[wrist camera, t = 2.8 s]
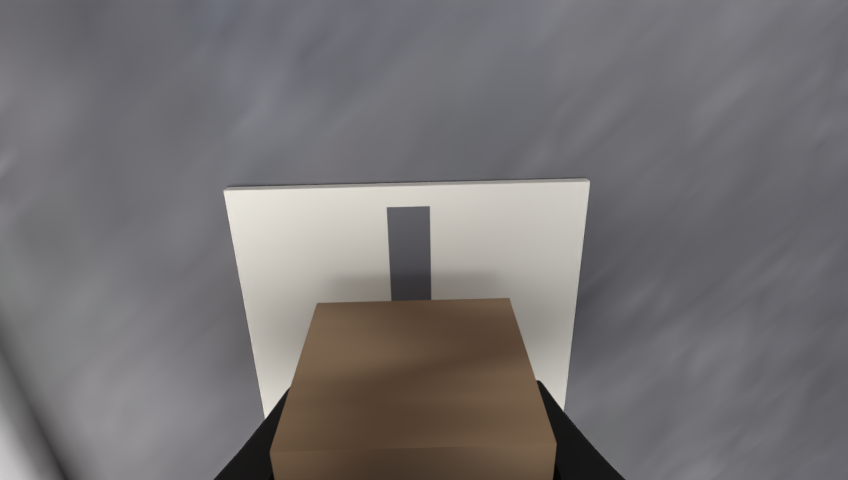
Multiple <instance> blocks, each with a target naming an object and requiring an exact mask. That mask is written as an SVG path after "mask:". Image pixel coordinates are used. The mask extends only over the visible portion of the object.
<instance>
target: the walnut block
mask: <svg viewBox="0 0 848 480" xmlns="http://www.w3.org/2000/svg"><path fill="white" fill-rule="evenodd" d="M556 446H557V443H556V440H555V437H554V434H553V431H552V428H551V425H550V422H549V419H548V416H547V412H546V409H545V406H544V403H543V400H542V397H541V394H540V391H539V388H538V385H537V382H536V379H535V375H534V372H533V369H532V366H531V363H530V360H529V357H528V354H527V351H526V348H525V345H524V342H523V338H522V335H521V332H520V329H519V326H518V323H517V320H516V317H515V314H514V311H513V308H512V305H511V302H510V298H489V299H449V300H410V301H370V302H331V303H317V305H316V308H315V311H314V314H313V317H312V320H311V323H310V326H309V330H308V333H307V336H306V339H305V342H304V345H303V348H302V352H301V355H300V358H299V361H298V364H297V367H296V370H295V374H294V377H293V380H292V383H291V386H290V389H289V392H288V396H287V399H286V402H285V405H284V408H283V411H282V414H281V418H280V421H279V424H278V427H277V430H276V433H275V436H274V440H273V443H272V446H271V449H270V457H271V463H272V468H273V474H274V479H275V480H553V473H554V464H555V455H556Z"/></svg>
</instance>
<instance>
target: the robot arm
mask: <svg viewBox="0 0 848 480" xmlns="http://www.w3.org/2000/svg"><path fill="white" fill-rule="evenodd" d="M536 382H537V385H538V388H539V391H540V394H541V397H542V400H543V403H544V406H545V409H546V412H547V416H548V419H549V422H550V425H551V428H552V431H553V434H554V437H555V440H556V443H557V446H556V455H555V464H554V473H553V480H625V479H624V478H623V477H622V476H621V475H620V474H619V473H618V472H617V471H616V470H615V469H614V468H613V467H612V466H611V465H610V464H609V463H608V462H607V461H606V460H605V459H604V458H603V457H602V456H601V455H600V453H599V452H598V451H597V450H596V449H595V448H594V447H593V446H592V445H591V443H590V442H589V441H588V440H587V439H586V438H585V437H584V435H583V434H582V433H581V432H580V431H579V430H578V428H577V427H576V426H575V425H574V424H573V422H572V421H571V420H570V419H569V417H568V416H567V415H566V414H565V412H564V411H563V410H562V409H561V407H560V406H559V405H558V403H557V402H556V401H555V399H554V398H553V397H552V395H551V394H550V393H549V391H548V390H547V388H546V387H545V386H544V384H543V383H542V382H541V381H540V380H536ZM289 389H290V387H289V388H288V389H287V390H286V392H285V393H284V394H283V396H282V397H281V399H280V400H279V401H278V403H277V404H276V405H275V407H274V408H273V409H272V411H271V412H270V413H269V415H268V416H267V417H266V419H265V420H264V421H263V423H262V424H261V425H260V426H259V428H258V429H257V430H256V431H255V433H254V434H253V435H252V436H251V438H250V439H249V440H248V441H247V442H246V444H245V445H244V446H243V447H242V449H241V450H240V451H239V452H238V453H237V454H236V455H235V457H234V458H233V459H232V460H231V461H230V462H229V463H228V464H227V465H226V467H225V468H224V469H223V470H222V471H221V472H220V473H219V474H218V475H217V477H216V478H215V479H214V480H275V479H274V474H273V468H272V463H271V457H270V449H271V446H272V443H273V440H274V436H275V433H276V430H277V427H278V424H279V421H280V418H281V414H282V411H283V408H284V405H285V402H286V399H287V396H288V392H289Z"/></svg>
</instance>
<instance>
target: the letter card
mask: <svg viewBox="0 0 848 480" xmlns="http://www.w3.org/2000/svg"><path fill="white" fill-rule="evenodd" d="M589 187H590V181H589V180H588V179H587V178H575V179H534V180H494V181H454V182H414V183H374V184H334V185H294V186H254V187H227V188H226V189H225V190H224V196H225V202H226V207H227V213H228V218H229V223H230V229H231V234H232V240H233V245H234V251H235V256H236V262H237V267H238V273H239V278H240V284H241V289H242V295H243V300H244V306H245V311H246V316H247V322H248V327H249V333H250V338H251V344H252V349H253V355H254V360H255V366H256V371H257V377H258V382H259V388H260V393H261V399H262V404H263V410H264V415H265V419H266V417H267V416H268V415H269V413H270V412H271V411H272V409H273V408H274V407H275V405H276V404H277V403H278V401H279V400H280V399H281V397H282V396H283V394H284V393H285V392H286V390H287V389H288V388H289V387H290V386H291V383H292V380H293V377H294V374H295V370H296V367H297V364H298V361H299V358H300V355H301V352H302V348H303V345H304V342H305V339H306V336H307V333H308V330H309V326H310V323H311V320H312V317H313V314H314V311H315V308H316V305H317V303H331V302H370V301H410V300H449V299H489V298H510V302H511V305H512V308H513V311H514V314H515V317H516V320H517V323H518V326H519V329H520V332H521V335H522V338H523V342H524V345H525V348H526V351H527V354H528V357H529V360H530V363H531V366H532V369H533V372H534V375H535V379H536V380H540V381H541V382H542V383H543V384H544V386H545V387H546V388H547V390H548V391H549V393H550V394H551V395H552V397H553V398H554V399H555V401H556V402H557V403H558V405H559V406H560V407H561V409H562V410H563V411H564V405H565V396H566V388H567V379H568V370H569V361H570V353H571V344H572V335H573V326H574V318H575V309H576V300H577V292H578V283H579V274H580V265H581V257H582V248H583V239H584V230H585V222H586V213H587V204H588V195H589Z"/></svg>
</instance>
